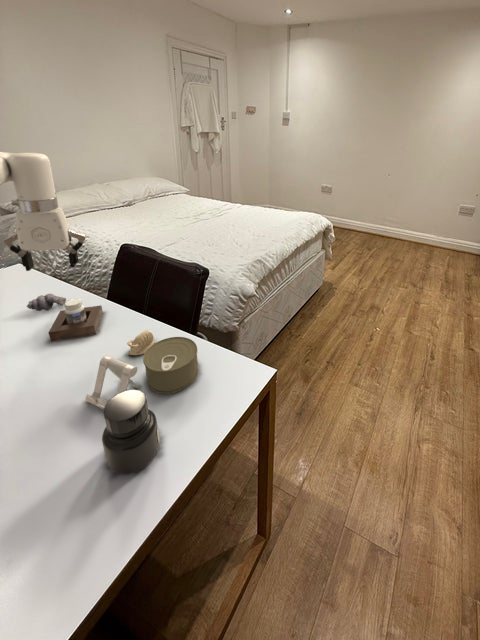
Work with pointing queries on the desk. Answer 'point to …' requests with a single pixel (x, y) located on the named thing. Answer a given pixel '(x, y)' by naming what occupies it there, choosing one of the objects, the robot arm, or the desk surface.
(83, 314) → the pill bottle
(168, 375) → the can
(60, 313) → the holder
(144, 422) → the ink bottle
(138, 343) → the decorative ornament
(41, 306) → the seashell
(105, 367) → the tablet stand
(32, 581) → the desk surface
